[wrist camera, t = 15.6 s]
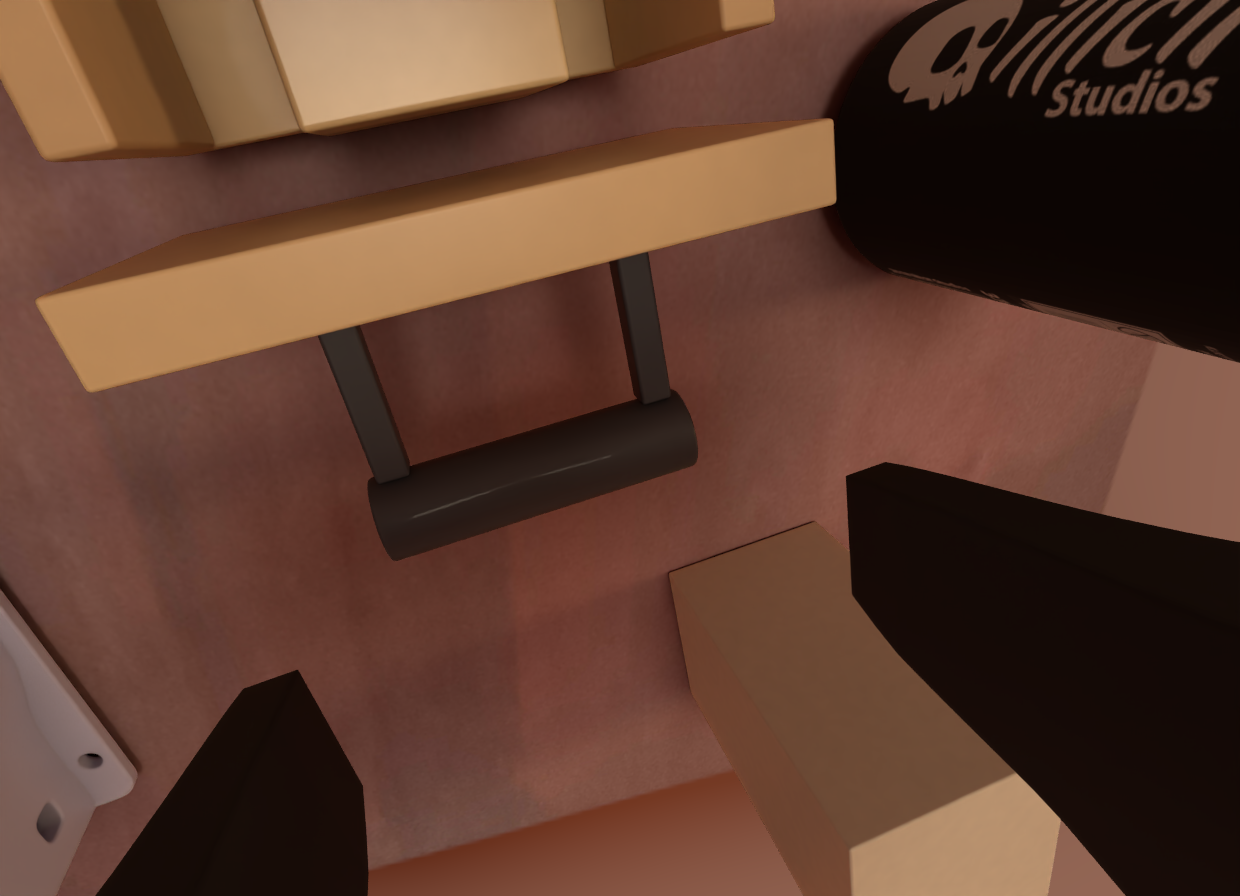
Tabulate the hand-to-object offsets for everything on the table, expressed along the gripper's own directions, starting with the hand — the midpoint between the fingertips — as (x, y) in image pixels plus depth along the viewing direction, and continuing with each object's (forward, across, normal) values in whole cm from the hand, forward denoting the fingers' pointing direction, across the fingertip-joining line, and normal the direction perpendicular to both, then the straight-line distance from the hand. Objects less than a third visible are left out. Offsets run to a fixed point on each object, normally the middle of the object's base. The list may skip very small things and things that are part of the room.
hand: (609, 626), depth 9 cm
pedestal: (+10, -6, +10) cm, 15 cm away
